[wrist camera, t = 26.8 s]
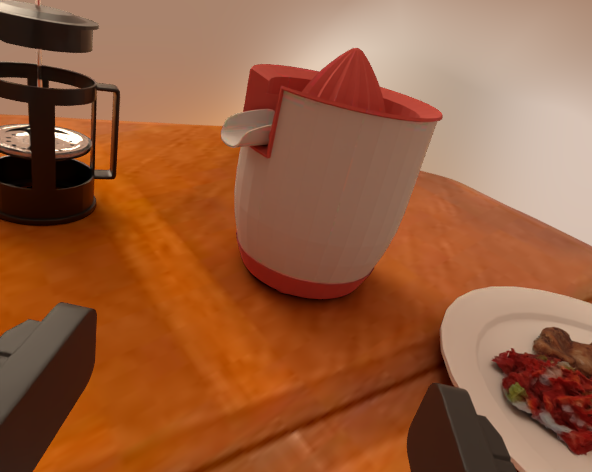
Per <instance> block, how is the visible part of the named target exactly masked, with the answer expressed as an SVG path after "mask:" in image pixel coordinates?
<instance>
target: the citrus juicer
mask: <svg viewBox="0 0 592 472" xmlns="http://www.w3.org/2000/svg"><path fill="white" fill-rule="evenodd" d="M441 119H442V113H441V112H440V111H439V110H437V109H436V108H434V107H432V106H430V105H429V104H426V103H424V102H422V101H419V100H417V99H414V98H412V97H409V96H406V95H403V94H401V93H398V92H395V91H392V90H388V89H385V88H382V87H380V86H379V84H378V81H377V78H376V76H375V74H374V71H373V69H372V67H371V65H370V63H369V61H368V59H367V58H366V56H365V54H364V53H363V51H361V50H360V49H359V48H353V49H351V50H349V51H347V52H345V53H344V54H342V55H340V56H339V57H338V58H336V59H335V60H334V61H332V62H331V63H329V64H328V65H327V66H326V67H325V68H323V69H322V70H321V71H320V72H318V71H313V70H308V69H303V68H296V67H290V66H281V65H271V64H260V65H254V66H253V67H252V68H251V69H250V74H249V80H248V86H247V93H246V99H245V104H244V110H243V112H241V113H237V114H235V115H232V116H230V117H228V118H227V120H226V121H225V123H224V125H223V127H222V131H221V139H222V141H223V142H224V143H225V144H226V145H228V146H229V147H241V149H240V155H239V160H238V166H237V173H236V183H235V218H236V226H237V232H236V234H237V242H238V246H239V250H240V254H241V257H242V260H243V262H244V265H245V267H246V268H247V269H248V270H249V271H250V273H251V274H253V275H254V276H255V277H256V278H257V279H259V280H260V281H262V282H263V283H265V284H267V285H268V286H270V287H273V288H275V289H276V290H277V291H279V292H281V293H284V294H291V295H295V296H300V297H305V298H313V299H332V298H337V297H342V296H345V295H347V294H350V293H351V292H352V291H354V290H355V289H356V288H357V287H358V286H359V285H360V284H361V283H362V282H363V281H364V280H365V279H366V278H367V277H368V276H369V275H370V274H371V272H372V271H373V269H374V266H375V265H376V264H377V262H378V261H379V260H380V258H381V257H382V255H383V254H384V252H385V251H386V249H387V247H388V246H389V244H390V242H391V241H392V239H393V237H394V235H395V234H396V232H397V229H398V227H399V225H400V222H401V220H402V218H403V215H404V213H405V210H406V208H407V205H408V202H409V199H410V196H411V194H412V191H413V188H414V185H415V182H416V180H417V177H418V174H419V171H420V168H421V165H422V163H423V160H424V157H425V154H426V152H427V149H428V146H429V143H430V140H431V137H432V135H433V132H434V129H435V126H436V124H437V121H440V120H441Z"/></svg>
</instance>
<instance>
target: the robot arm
mask: <svg viewBox="0 0 592 472" xmlns="http://www.w3.org/2000/svg"><path fill="white" fill-rule="evenodd" d="M96 322H97V314H96V310H95V309H92V308H87V307H82V306H78V305H73V304H68V303H63V302H61V303H58V304H57V305H56V306H55V307H54V308H53V309H52V310H51V311H50V313H49V314H48V315H47V316H46V317H45V318H44V319H43V320H42V321H41V322H40V321H35V320H30V319H29V320H27V321H25V322H23V323H21V324H19V325H18V326H16V327H14V328H12V329H10V330H8V331H6V332H5V333H4V334H3V335H2V336H1V337H0V472H33V470H34V469H35V467H36V466H37V464H38V462H39V461H40V459H41V458H42V456H43V454H44V453H45V451H46V450H47V448H48V446H49V445H50V443H51V442H52V440H53V438H54V437H55V435H56V434H57V432H58V430H59V429H60V427H61V426H62V424H63V423H64V421H65V419H66V418H67V416H68V415H69V413H70V411H71V410H72V408H73V407H74V405H75V403H76V402H77V400H78V399H79V397H80V395H81V394H82V392H83V391H84V389H85V387H86V386H87V384H88V382H89V379H90V377H91V374H92V371H93V368H94V363H95V348H96ZM407 453H408V459H409V464H410V469H411V472H517V471H516V469H515V467H514V464H513V463H512V462H511V457H510V455H509V452H508V450H507V448H506V445H505V443H504V441H503V438H502V436H501V435H500V434H499V433H498V431H497V430H496V429H495V428H494V426H493V425H492V424H491V423H490V421H489V420H488V419H487V418H486V416H482V415H477V413H476V410H475V408H474V405H473V403H472V400H471V397H470V395H469V393H468V391H467V390H465V389H463V388H458V387H453V386H448V385H444V384H439V383H432V384H431V385H430V386H429V388H428V390H427V392H426V394H425V396H424V398H423V400H422V402H421V404H420V407H419V409H418V411H417V413H416V415H415V417H414V419H413V421H412V423H411V425H410V428H409V432H408V437H407Z"/></svg>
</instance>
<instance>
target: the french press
mask: <svg viewBox="0 0 592 472" xmlns="http://www.w3.org/2000/svg"><path fill="white" fill-rule="evenodd" d="M98 27H99V25H98V23H96V22H94V21H92V20H89V19H86V18H82V17H79V16H75V15H74V14H72V13H69V12H66V11H63V10H59V9H55V8H51V7H47V6H42V5H40V0H35V4H31V3H25V2H18V1H10V0H0V40H2V41H4V42H6V43H9V44H15V45H19V46H24V47H29V48H35V49H36V51H37V64H31V63H20V62H0V77H20V78H27V85H22V84H17V83H12V82H7V81H4V80H0V97H2V98H6V99H10V100H15V101H20V102H26V103H28V113H29V124H12V125H4V126H0V153H3V154H6V155H8V156H3V157H0V218H1V219H4V220H7V221H10V222H15V223H20V224H29V225H56V224H63V223H69V222H73V221H77V220H79V219H82V218H84V217H86V216H88V215H89V214H91V213H92V212H93V211H94V209H95V207H96V198H95V196H94V179H115V177H116V166H117V146H118V126H119V106H120V91H119V90H118V88H117V87H116V86H115V85H111V84H103V83H97V82H96V81H95V80H94V79H92V78H91V77H88V76H86V75H83V74H80V73H77V72H74V71H70V70H66V69H62V68H57V67H51V66H46V65H42V52H41V50H49V51H57V52H70V53H86V52H91V51H92V37H93V35H92V34H93V30H97V29H98ZM49 81H54V82H59V83H64V84H68V85H72V86H75V87H78V88H81V89H54V88H49ZM97 90H99V91H108V92H113V112H112V113H113V114H112V135H111V157H110V170H95V135H96V100H97ZM89 103H92V113H91V114H92V115H91V117H92V118H91V140H90V139H89V138H88V137H87V136H85V135H83V134H81V133H79V132H76V131H73V130H70V129H66V128H61V127H56V126H55V105H56V106H57V105H58V106H73V105H84V104H89ZM90 149H91V155H90V167H89V166H88V165H86V164H85V163H83V162H80V161H78V160H75V159H74V158H78V157H81V156H84V155H86V154H87V153H88V152H89V151H90ZM25 186H32V189H30V188H22V187H25ZM56 187H60V188H62V189H56Z"/></svg>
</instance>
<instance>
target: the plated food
mask: <svg viewBox="0 0 592 472" xmlns="http://www.w3.org/2000/svg"><path fill="white" fill-rule="evenodd" d="M440 345H441V353H442V356H443V359H444V362H445V365H446V368H447V371H448V374H449V377H450V379H451V381H452V383H453V385H454V386H455V387H458V388H463V389H465V390H467V391H468V393H469V395H470V397H471V400H472V403H473V405H474V408H475V410H476V413H477V415H482V416H486V418H487V419H488V420H489V421H490V423H491V424H492V425H493V426H494V428H495V429H496V430H497V431H498V433H499V434H500V435H501V436H502V438H503V441H504V443H505V445H506V448H507V450H508V452H509V455H510V457H511V462H512V463H513V464H514V467H515V468H516V469H517V470H518V471H519V472H592V304H590V303H587V302H584V301H581V300H578V299H574V298H571V297H568V296H564V295H560V294H556V293H551V292H547V291H542V290H537V289H529V288H521V287H488V288H482V289H477V290H473V291H471V292H468V293H466V294H464V295H462V296H460V297H458V298H457V299H456V300H455V301H454V302H453V303H452V304H451V305H450V306H449V307H448V308H447V310H446V312H445V315H444V318H443V321H442V324H441V327H440Z"/></svg>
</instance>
